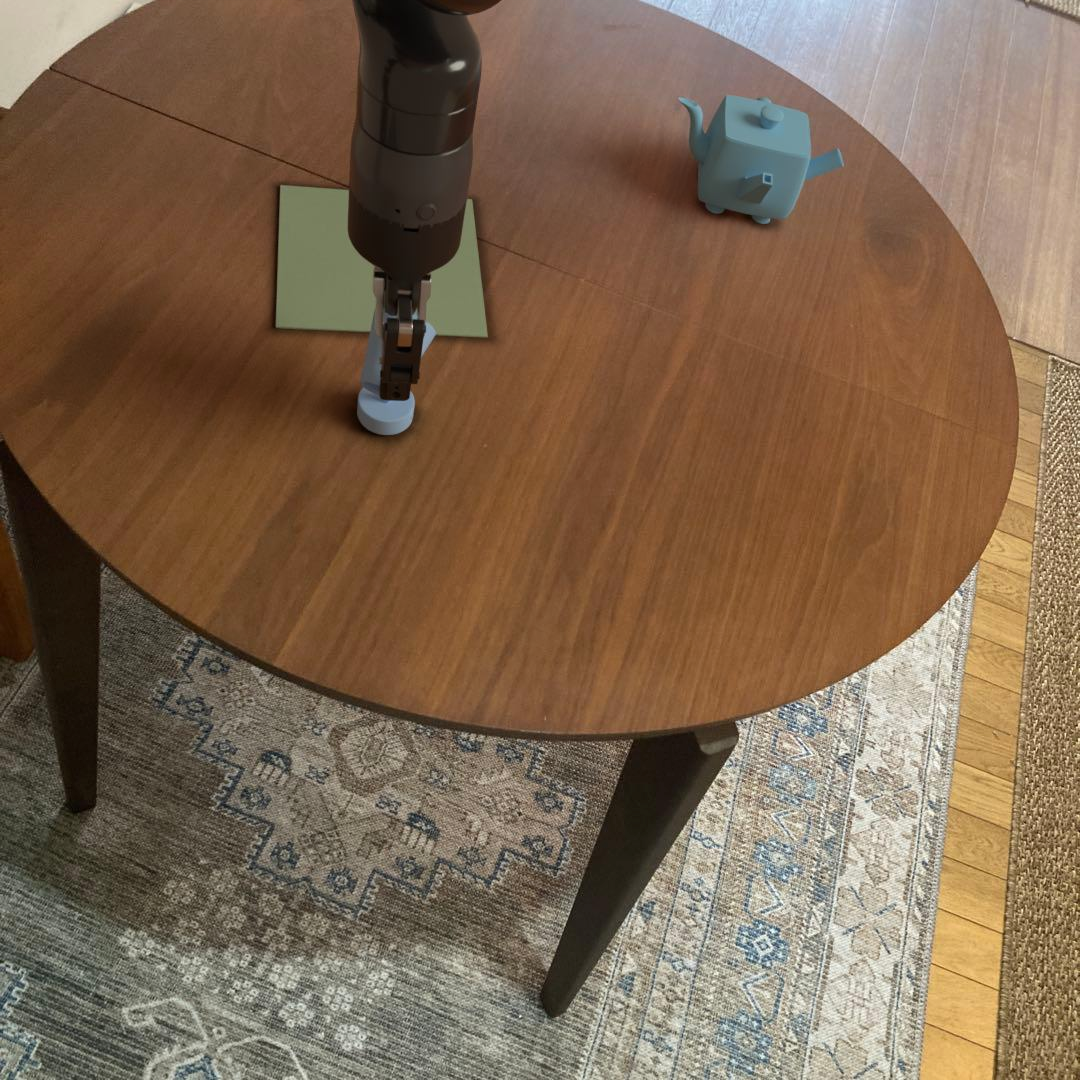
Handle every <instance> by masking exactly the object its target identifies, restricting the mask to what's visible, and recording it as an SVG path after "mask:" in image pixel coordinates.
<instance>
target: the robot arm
mask: <svg viewBox="0 0 1080 1080" xmlns="http://www.w3.org/2000/svg"><path fill="white" fill-rule="evenodd" d="M501 1H502V0H352V1H351V2H352V5H353V6H352V7H353V10H354V16H355V20H356V24H357V31H358V37H359V38H358V40H359V53H358V54H359V55H358V63H357V64H358V65H357V76H356V77H357V81H356V103H355V104H356V105H355V108H356V109H355V118H354V124H353V128H352V132H351V138H350V139H351V140H350V151H349V177H348V178H349V179H348V190H349V201H348V235H349V238H350V241H351V243H352V245H353V247H354V248H355V250H356V251H357V252H358V253H359V254H360V255H361V256H362V257H363V258H364V259H365V260H367V261H368V262H370V263H371V264H372V265H373V286H372V288H373V293H374V295H375V297H376V307H375V331H376V335H377V336H378V337H379V338H381V339H382V343H381V357H379V364H381V370H380V398H381V399H382V400H388V401H406V400H408V399H409V398H410V391H411V389H412V385H418V382H419V380H420V379H421V378H420V377H421V372H420V367H421V360H422V357H421V354H422V346H423V339H424V336H425V333H426V325H425V323H426V304H427V300H428V299H429V298H430V296H431V273H430V272H432V271H434V270H437V269H439V268H441V267H443V266H444V265H446V264H447V263H448V262H449V261H450V260H451V259H452V258H453V257H454V256H455V254H456V253H457V251H458V249H459V246H460V242H461V235H462V228H463V222H464V215H465V209H466V202H467V199H468V195H469V190H470V189H469V188H470V184H471V183H470V182H471V177H472V169H473V168H472V167H473V158H474V142H473V141H474V126H475V121H476V113H477V107H478V99H479V92H480V87H481V81H482V70H483V69H482V68H483V67H482V66H483V58H482V57H483V56H482V50H481V49H482V48H481V44H480V41H479V38H478V35H477V34H476V32H475V30H474V28H473V25H472V24H471V22H470V20H469V18H468V16H471V15H475V14H476V15H477V14H480V13H482V12H485V11H488V10H490V9H492V8H493V7H494V6H497V5H498V4H499V3H500V2H501ZM384 309H385V312H386V313H387V314H389V315H391V316H397V318H387V320H386V322H384V320H383V316H384ZM416 310H417V319H412V315H413V314H414V313H415V311H416Z"/></svg>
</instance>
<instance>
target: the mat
mask: <svg viewBox="0 0 1080 1080" xmlns="http://www.w3.org/2000/svg"><path fill="white" fill-rule="evenodd" d="M348 201H349V189H339V188H326V187H313V186H312V187H311V186H300V185H299V186H298V185H285V184H280V185H279V211H278V212H279V215H278V242H277V243H278V246H277V272H276V273H277V274H276V275H277V276H276V307H275V329H283V330H284V329H285V330H286V329H287V330H306V331H307V330H308V331H313V330H314V331H329V332H350V333H351V332H352V333H370V330H371V325H372V320H373V315H374V310H375V307H376V297H375V295H374V293H373V288H372V286H373V265H372V264H371V263H370V262H368V261H367V260H365V259H364V258H363V257H362V256H361V255H360V254H359V253H358V252H357V251H356V250H355V248H354V247H353V245H352V243H351V241H350V238H349V235H348ZM476 229H477V228H476V221H475V214H474V204H473V198H467V202H466V209H465V215H464V222H463V228H462V235H461V242H460V246H459V249H458V251H457V253H456V254H455V256H454V257H453V258H452V259H451V260H450V261H449V262H448V263H447V264H446V265H444V266H443V267H441V268H439V269H437V270H434V271H432V272H430V273H431V296H430V298H429V299H428V300H427V304H426V322H428V323H429V324H430V325H431V326H432V327H433V328H434V329H435V331H436V335H435V337H436V336H440V337H459V338H462V337H463V338H481V339H482V338H484V339H487V338H489V336H488V326H487V317H486V309H485V302H484V301H485V300H484V291H483V283H482V274H481V265H480V258H479V257H480V256H479V249H478V248H479V247H478V239H477V230H476ZM414 314H415V315H417V310H416V311H415V313H414Z"/></svg>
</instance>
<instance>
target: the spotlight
mask: <svg viewBox="0 0 1080 1080" xmlns="http://www.w3.org/2000/svg"><path fill="white" fill-rule="evenodd" d="M387 318H397V316H391V315H389V314H387V313H386V312H385V309H384V316H383V320H384V322H386V320H387ZM412 319H417V315H415V314H413V315H412ZM425 325H426V333H425V336H424V339H423V346H422V354H421V358H422V357H423V356H424V354H425V352H426V351H427V349H428V348H429V346H430V345H431V343H432V341H433V340H434V338H435V337H436V331H435V329H434V328H433V327H432V326H431V325H430V324H429V323H428V322H426V323H425ZM367 340H368V341H367V344H366V345H367V346H366V351H365V356H364V360H363V365H362V371H361V374H360V375H361V376H360V380H359V385H360V386H361V387H362V388H360V390H359V392H358V395H357V408H356V415H357V419H358V421H359V423H360V424H361V425H362V426H363V427H364V428H365V429H366V430H368V431H370V432H372V433H374V434H376V435H382V436H393V435H398V434H400V433H402V432H404V431H405V430H407V429H408V428H409V427H410V426H411V424H412V422H413V419H414V417H415V416H414V413H415V412H414V411H415V406H416V401H415V396H414V394H413V392H412V391H411V390H410V398H409V399H408V400H406V401H388V400H382V399H381V398H380V370H381V364H379V357H381V343H382V339H381V338H379V337H378V336H377V335H376V331H375V310H374V315H373V320H372V325H371V330H370V332H369V335H368V339H367Z"/></svg>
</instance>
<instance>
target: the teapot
mask: <svg viewBox="0 0 1080 1080" xmlns="http://www.w3.org/2000/svg"><path fill="white" fill-rule="evenodd" d="M678 101H679V103H680V104H681V105H683V107H684V108H685V109H686V110H687V112H688V114H689V122H690V124H689V133H688V147H689V150H690V153H691V155H692V157H693V158H694V160H695V161H696V162H698V169H697V197H698V200H699V201H700V202H702V203H705V208H706V209H707V211H709V212H711V213H713V214H722V213H724V212H725V210H728V211H732V212H737V213H741V214H745V215H750V216H751V218H752V219H753V220H754V221H755V222H756V223H758V224H761V225H765V224H769V223H770V221H771V219H773V220H782V221H783V220H786V219H787V218H788V216H789V215H790V214H791V213H792V212H793V210H794V208H795V206H796V203H797V201H798V199H799V196H800V194H801V191H802V188H803V185H804V182H807V181H809V180H811V179H814V178H817V177H820V176H823V175H825V174H828V173H831V172H833V171H836V170H838V169H841V168H843V167H844V165H845V164H844V160H843V156H842V154H841V151H840V149H839V148H836V149H833V150H831V151H828V152H825V153H822V154H820V155H817V156H815V157H812V158H811V156H812V143H811V142H812V140H811V129H810V119H809V115H808V114H807V113H806V112H804V111H801V110H798V109H794V108H791V107H787V106H783V105H779V104H775V103H773V102H772V100H770V99H769V98H768V97H764V96H760V97H757V98H756V99H754V98H749V97H746V96H745V97H744V96H738V95H731V94H727V95H725V96H724V97H723V98H722V101H721V102H720V104H719V106H718V107H717V108H716V111H715V113H714V114H713V116H712V118H711V121H710V123H709V124H708V126H707V129H706V132H704V131H705V130H704V128H703V125H704V124H703V122H704V114H703V110H702V107H701V106H700V104H699V103H697V102H696V101H694V100H692V99H690V98H686V97H683V96H682V97H678Z"/></svg>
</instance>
